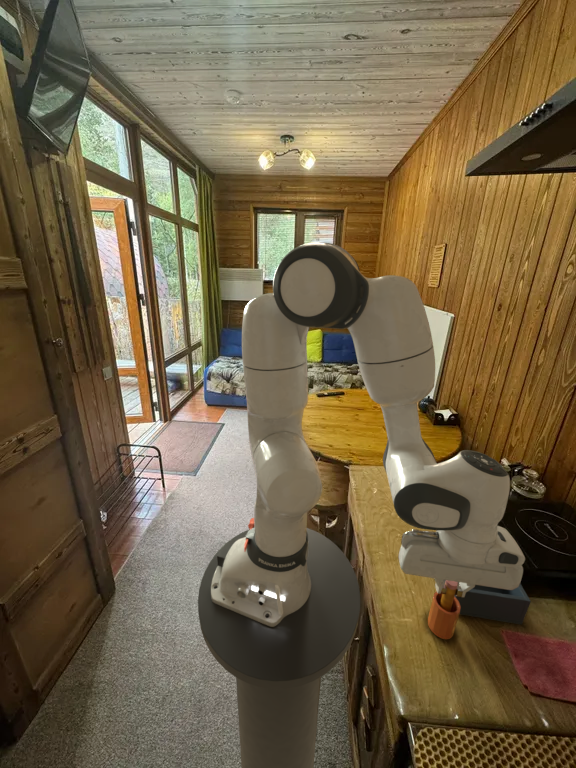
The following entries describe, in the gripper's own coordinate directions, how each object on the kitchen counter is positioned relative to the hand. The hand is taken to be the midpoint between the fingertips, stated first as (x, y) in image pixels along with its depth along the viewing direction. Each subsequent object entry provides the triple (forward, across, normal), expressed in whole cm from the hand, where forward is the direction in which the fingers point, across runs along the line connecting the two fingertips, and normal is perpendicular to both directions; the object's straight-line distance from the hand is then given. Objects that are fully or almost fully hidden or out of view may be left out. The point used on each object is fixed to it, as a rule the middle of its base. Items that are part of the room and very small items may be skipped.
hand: (449, 592), depth 60 cm
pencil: (+9, 0, 0) cm, 9 cm away
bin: (+10, +10, +10) cm, 17 cm away
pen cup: (+10, 0, 0) cm, 10 cm away
